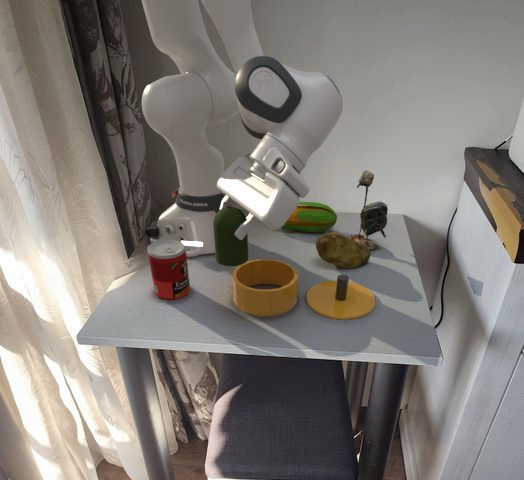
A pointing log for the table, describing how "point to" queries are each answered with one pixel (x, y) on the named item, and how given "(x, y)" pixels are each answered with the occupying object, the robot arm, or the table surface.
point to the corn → (311, 218)
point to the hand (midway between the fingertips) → (227, 229)
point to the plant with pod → (370, 215)
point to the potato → (342, 250)
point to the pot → (261, 299)
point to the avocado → (229, 237)
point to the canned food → (169, 269)
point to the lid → (340, 299)
